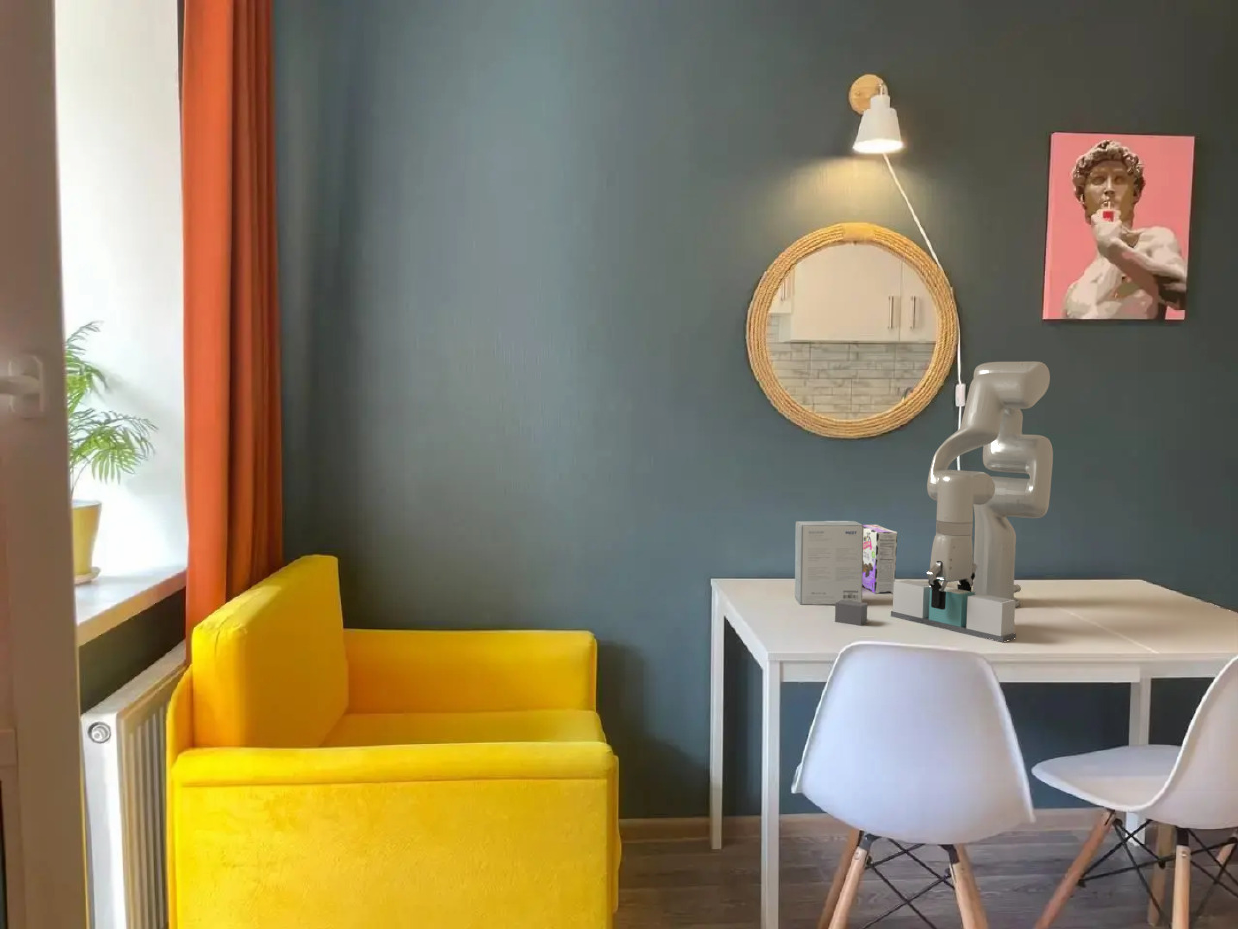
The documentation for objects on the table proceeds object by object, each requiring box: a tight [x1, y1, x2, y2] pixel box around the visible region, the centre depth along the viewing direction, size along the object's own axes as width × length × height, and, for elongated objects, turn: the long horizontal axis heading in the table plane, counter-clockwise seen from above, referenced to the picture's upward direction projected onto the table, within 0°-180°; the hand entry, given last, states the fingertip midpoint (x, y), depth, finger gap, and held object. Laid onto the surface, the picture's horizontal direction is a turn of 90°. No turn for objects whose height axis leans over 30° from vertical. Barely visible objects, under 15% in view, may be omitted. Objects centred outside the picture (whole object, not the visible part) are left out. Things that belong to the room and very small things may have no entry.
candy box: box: [862, 524, 898, 594], centre depth 244 cm, size 14×6×16 cm, turn 6°
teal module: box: [929, 586, 975, 627], centre depth 203 cm, size 5×8×7 cm, turn 36°
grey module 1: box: [892, 579, 930, 618], centre depth 210 cm, size 8×5×7 cm, turn 37°
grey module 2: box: [966, 594, 1016, 636], centre depth 195 cm, size 8×5×7 cm, turn 37°
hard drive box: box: [794, 520, 864, 606], centre depth 227 cm, size 16×8×20 cm, turn 90°
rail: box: [890, 610, 1017, 643], centre depth 203 cm, size 28×5×1 cm, turn 37°
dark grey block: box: [834, 600, 868, 627], centre depth 206 cm, size 4×6×4 cm, turn 56°
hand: (951, 605), depth 203 cm, fingers open, 9 cm apart
